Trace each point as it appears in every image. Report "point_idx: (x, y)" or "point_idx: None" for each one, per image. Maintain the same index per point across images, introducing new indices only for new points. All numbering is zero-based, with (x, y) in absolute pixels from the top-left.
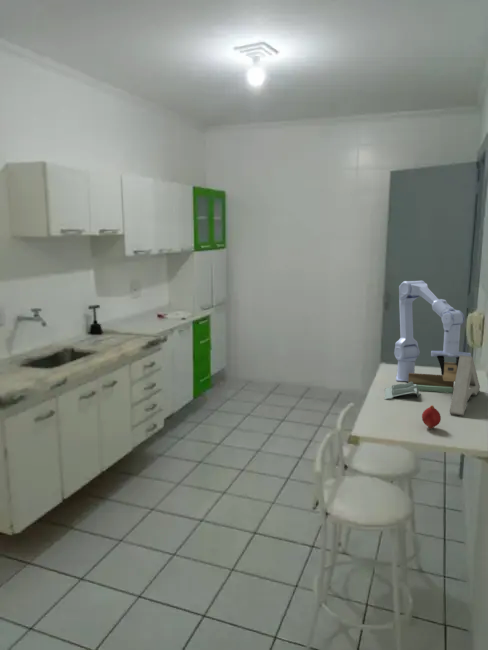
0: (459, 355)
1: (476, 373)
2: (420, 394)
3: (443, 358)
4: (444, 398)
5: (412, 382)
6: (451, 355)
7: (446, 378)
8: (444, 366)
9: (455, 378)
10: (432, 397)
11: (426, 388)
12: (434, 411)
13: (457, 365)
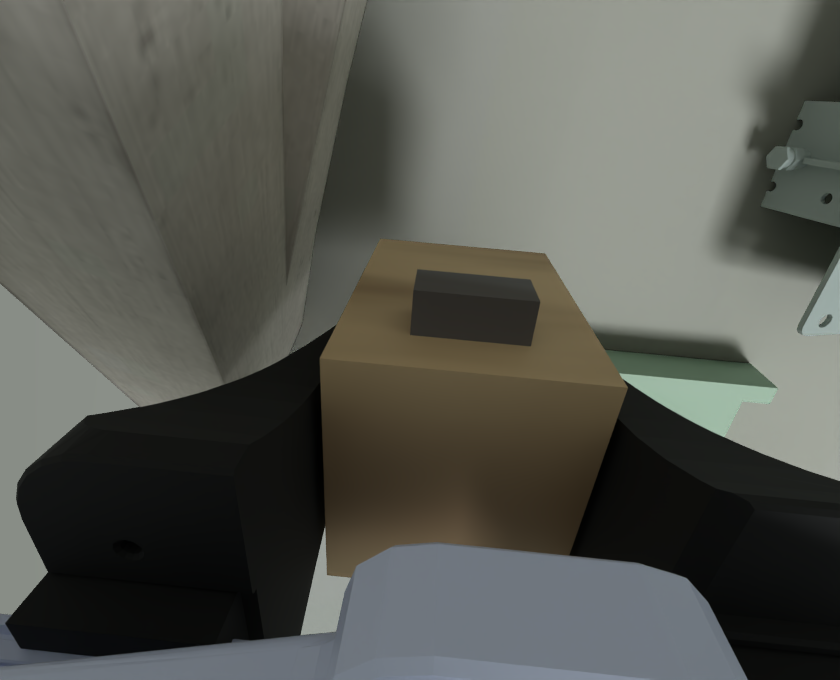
0: (89, 672)
1: (14, 286)
2: (781, 146)
3: (711, 585)
4: (514, 134)
5: None
6: (563, 593)
7: (513, 262)
8: (612, 365)
9: (382, 251)
10: (633, 148)
11: (626, 363)
12: None
13: (305, 390)
